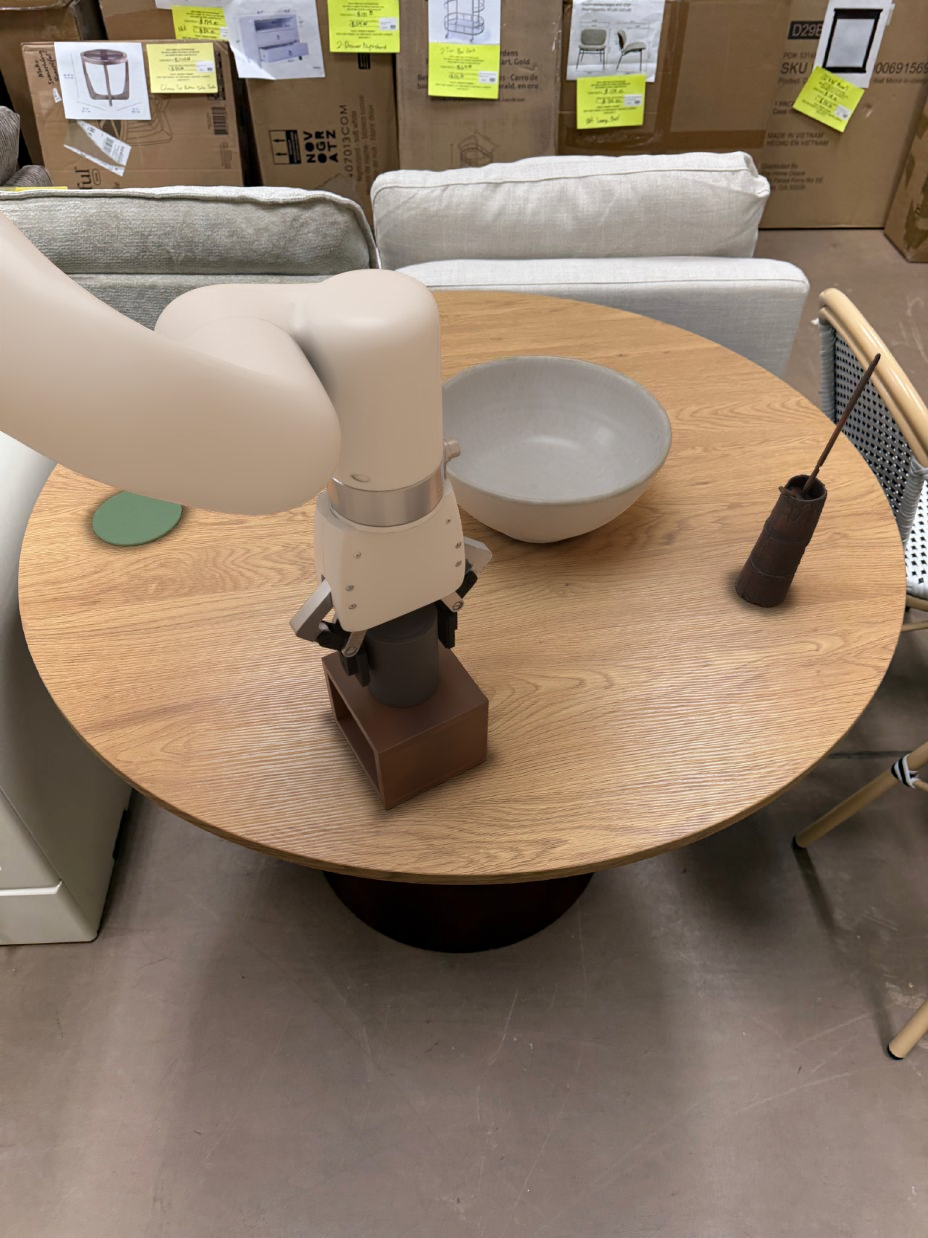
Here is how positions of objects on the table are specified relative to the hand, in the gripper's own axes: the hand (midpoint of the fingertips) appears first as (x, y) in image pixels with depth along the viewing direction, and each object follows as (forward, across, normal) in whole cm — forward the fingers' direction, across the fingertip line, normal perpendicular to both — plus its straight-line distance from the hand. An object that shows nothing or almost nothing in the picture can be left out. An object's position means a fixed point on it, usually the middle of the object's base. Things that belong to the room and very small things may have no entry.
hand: (400, 653), depth 65 cm
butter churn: (+12, -40, +2) cm, 42 cm away
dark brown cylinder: (+3, 0, 0) cm, 3 cm away
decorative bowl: (+12, -28, -21) cm, 37 cm away
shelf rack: (+12, 0, 0) cm, 12 cm away
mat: (+12, +13, -43) cm, 47 cm away
